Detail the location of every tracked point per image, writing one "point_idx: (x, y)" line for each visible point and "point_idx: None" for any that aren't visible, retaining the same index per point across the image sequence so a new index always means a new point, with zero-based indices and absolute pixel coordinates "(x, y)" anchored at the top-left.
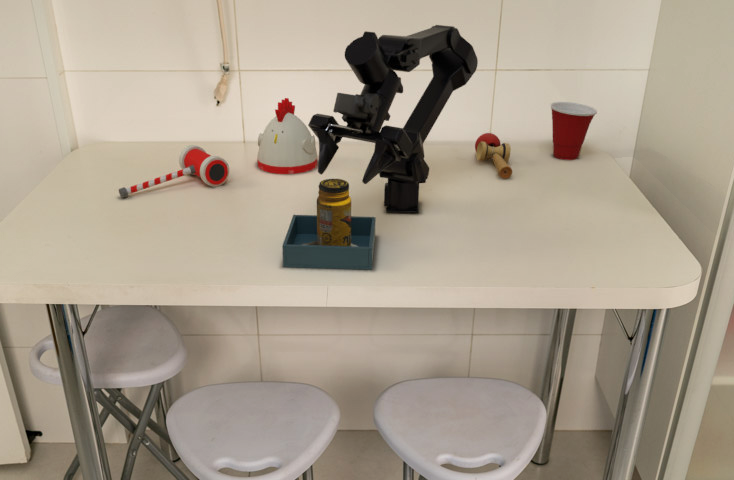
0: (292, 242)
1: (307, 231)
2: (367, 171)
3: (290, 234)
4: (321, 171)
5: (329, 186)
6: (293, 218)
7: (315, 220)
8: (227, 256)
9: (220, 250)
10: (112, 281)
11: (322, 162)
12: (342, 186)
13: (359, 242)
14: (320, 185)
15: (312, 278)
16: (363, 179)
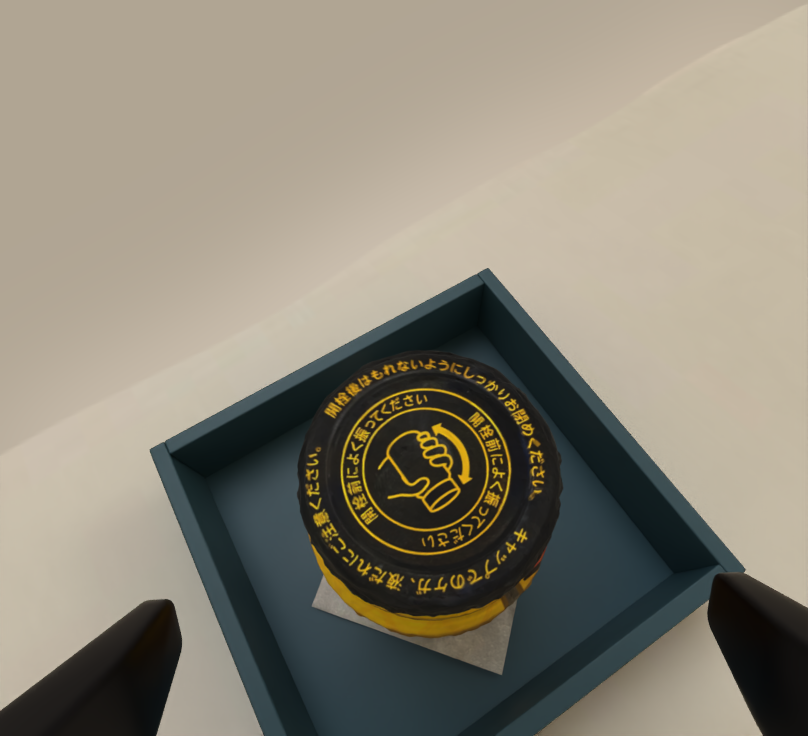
0: (579, 443)
1: (637, 603)
2: (75, 676)
3: (561, 380)
4: (721, 609)
5: (414, 389)
6: (697, 523)
7: (627, 628)
8: (691, 275)
9: (753, 293)
10: (756, 44)
11: (797, 644)
12: (314, 437)
13: (359, 674)
14: (491, 370)
15: (344, 310)
16: (149, 605)
